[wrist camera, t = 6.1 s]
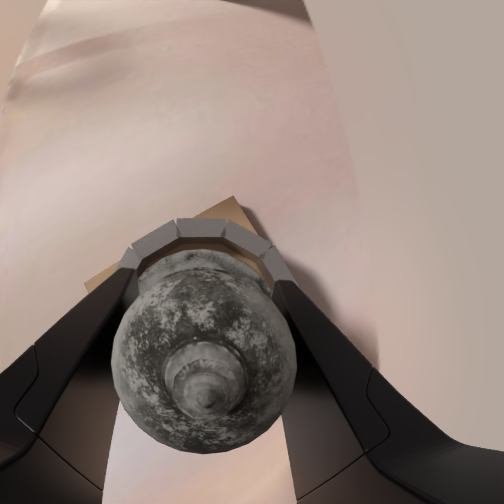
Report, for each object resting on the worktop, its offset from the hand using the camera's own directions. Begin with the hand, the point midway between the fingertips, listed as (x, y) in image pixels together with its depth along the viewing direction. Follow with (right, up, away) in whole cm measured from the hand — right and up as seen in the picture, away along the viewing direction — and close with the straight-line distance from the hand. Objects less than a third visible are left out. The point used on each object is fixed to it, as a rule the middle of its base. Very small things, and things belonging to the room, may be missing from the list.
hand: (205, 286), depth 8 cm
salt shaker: (-1, -3, +6) cm, 7 cm away
